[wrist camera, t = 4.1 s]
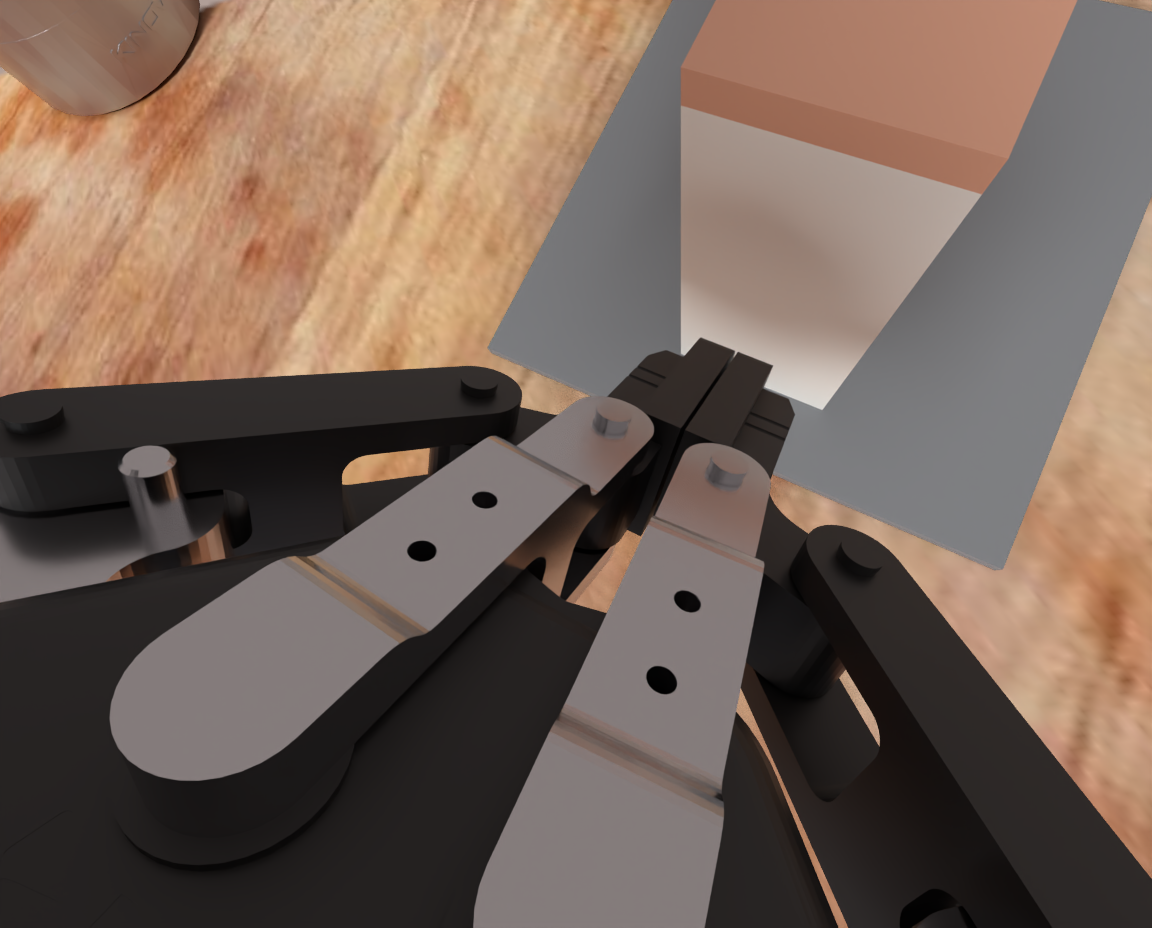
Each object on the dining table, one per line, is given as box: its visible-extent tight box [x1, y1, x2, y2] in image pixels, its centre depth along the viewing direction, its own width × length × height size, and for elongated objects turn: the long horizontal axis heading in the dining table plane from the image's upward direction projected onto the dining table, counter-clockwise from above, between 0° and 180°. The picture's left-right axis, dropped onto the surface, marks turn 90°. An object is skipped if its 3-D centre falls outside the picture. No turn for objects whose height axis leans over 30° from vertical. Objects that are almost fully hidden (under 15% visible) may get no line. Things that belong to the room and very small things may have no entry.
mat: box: [488, 0, 1152, 570], centre depth 22 cm, size 18×20×1 cm
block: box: [681, 0, 1077, 410], centre depth 15 cm, size 5×5×12 cm
